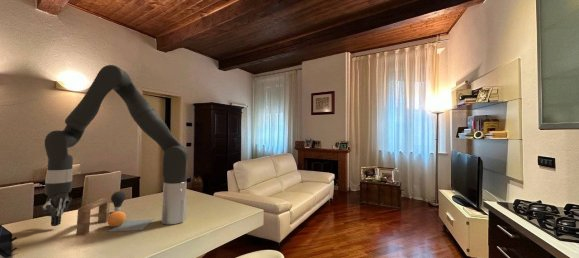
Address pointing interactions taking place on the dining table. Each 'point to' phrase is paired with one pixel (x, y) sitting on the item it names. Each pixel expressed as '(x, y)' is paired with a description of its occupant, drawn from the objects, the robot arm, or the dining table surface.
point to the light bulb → (118, 200)
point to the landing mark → (132, 225)
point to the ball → (116, 218)
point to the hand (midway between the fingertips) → (55, 225)
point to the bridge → (84, 215)
